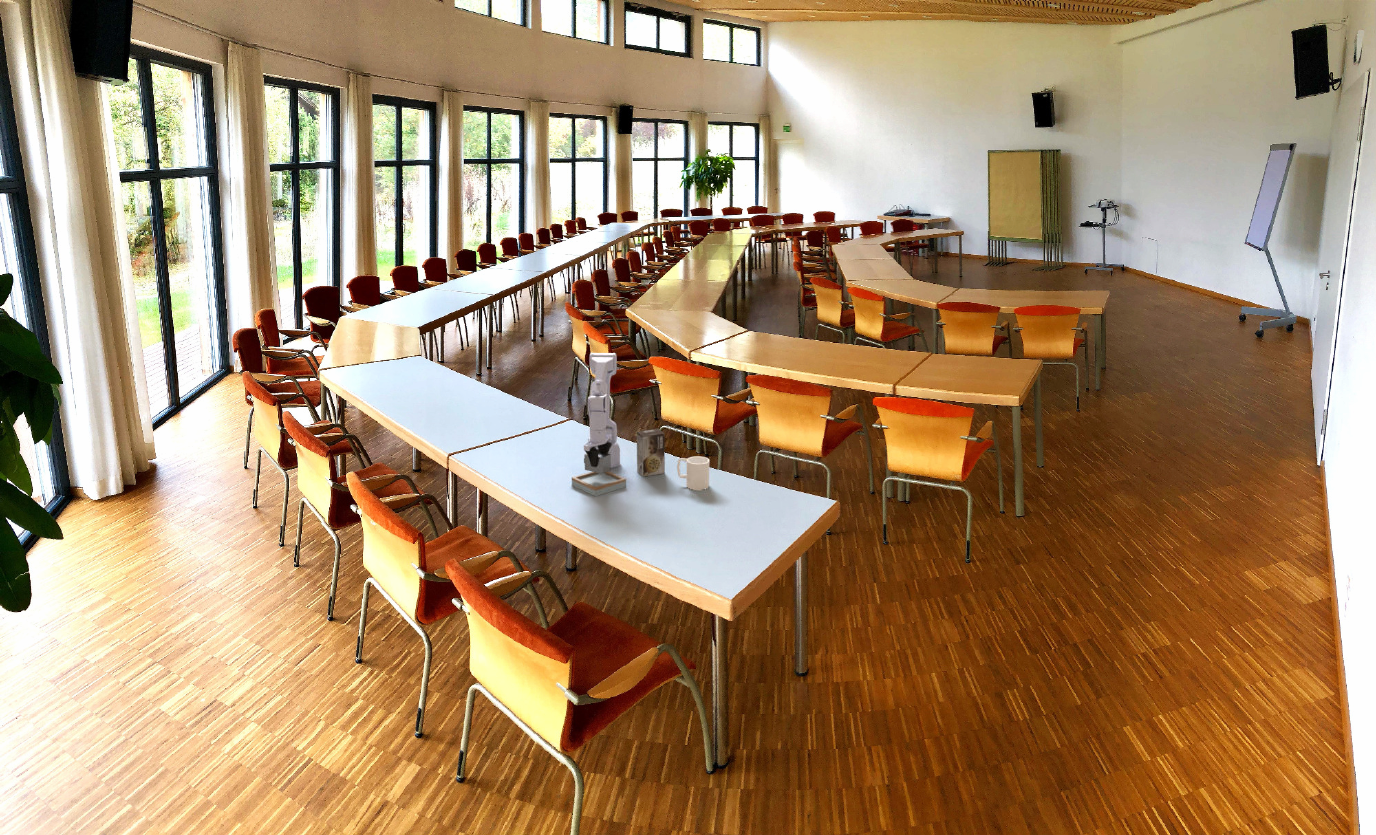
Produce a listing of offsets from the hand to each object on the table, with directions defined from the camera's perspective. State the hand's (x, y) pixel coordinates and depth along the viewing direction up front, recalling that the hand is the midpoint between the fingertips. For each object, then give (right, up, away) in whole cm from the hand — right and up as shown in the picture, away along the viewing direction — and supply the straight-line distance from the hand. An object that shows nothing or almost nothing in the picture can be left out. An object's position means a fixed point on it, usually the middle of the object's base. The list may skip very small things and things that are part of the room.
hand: (598, 464), depth 317 cm
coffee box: (+18, -4, +16) cm, 25 cm away
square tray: (0, -8, +3) cm, 8 cm away
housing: (0, -2, +1) cm, 2 cm away
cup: (+34, -8, +4) cm, 35 cm away
